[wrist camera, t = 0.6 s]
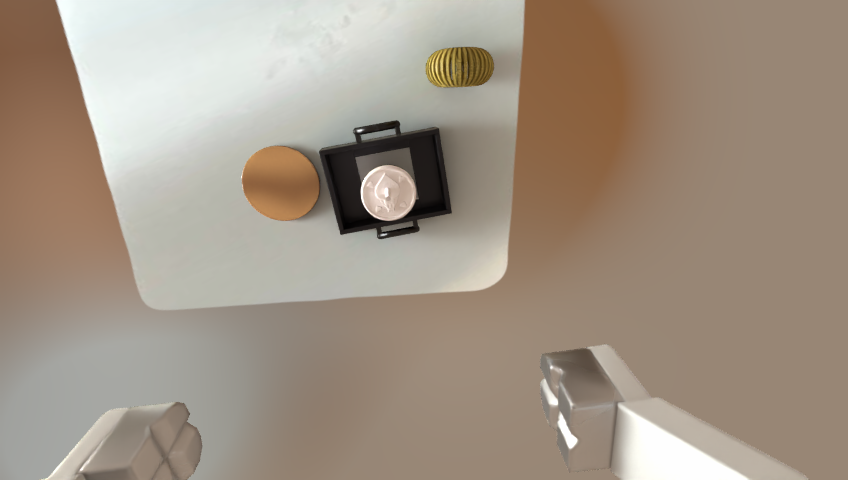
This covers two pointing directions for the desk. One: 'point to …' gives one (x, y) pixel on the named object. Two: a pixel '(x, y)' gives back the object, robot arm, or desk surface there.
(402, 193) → the smoothie
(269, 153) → the cork pad
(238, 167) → the desk surface
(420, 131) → the pan
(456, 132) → the desk surface
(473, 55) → the sculpture
